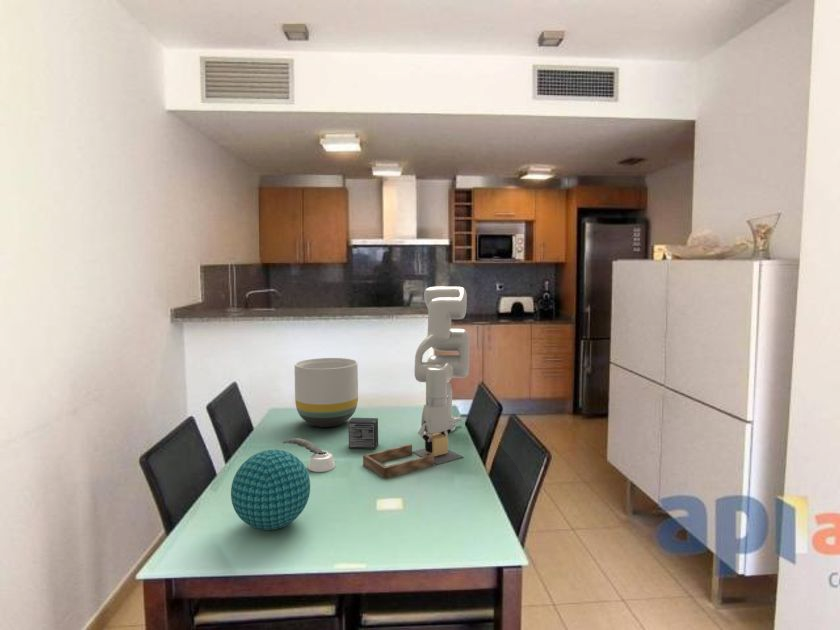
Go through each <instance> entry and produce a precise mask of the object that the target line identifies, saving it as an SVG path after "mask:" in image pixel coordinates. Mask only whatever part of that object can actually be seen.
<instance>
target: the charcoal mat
mask: <svg viewBox="0 0 840 630" xmlns="http://www.w3.org/2000/svg"><path fill="white" fill-rule="evenodd" d="M412 454H414V455H416V456H418V457H419V458H420V457H424V456H428V455H431V454H429V453H427V452H425V447H424V448H420V449H417V450H412ZM459 458H460V459H464V456H463V455H460V454H459V453H456V452H454V451H452V450H450V449H448V453H446V454H442V455H438V456H434V465H436V466H437V465H438V464H439V465H441V463H442V464H445V462H446V463H449V462H452V460H453V461H456V459H457V460H460V459H459ZM448 461H449V462H448Z"/></svg>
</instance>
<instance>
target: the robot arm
mask: <svg viewBox="0 0 840 630" xmlns="http://www.w3.org/2000/svg"><path fill="white" fill-rule="evenodd" d="M423 297H424V302H425V305H426V308H427V310H428V316H427V319H428V320H427V335H426V337H425V339H423V340H422V341H421V343H420V344H419V345H418V348H417V349H416V352H415V356H414V378H415V380H416V381H417V382H419V383H425V404H424V405H423V408H422V413H421V415H422V416H421V423H420V424H421V427H420V428H419V430H418V431H417V434H418V435H419V436H420V437H421V438H422V439H423V440H424V448H425V449H426V451H428V452H430V453H431V452H432V442H431V439H432V435H433V434H434V433H441V434H443V435H445V436H448V438H449V436H450V434H451V433H452V432H454V431H455V430H456V424H455V423H459V422H461V421H462V419H461V417H460V416H457V417H454V416H453V387H452V385H451V383H450V382H451V380H452V379H453V378H454V379H455V378H457V379H458V378H459V379H460V378H461V379H463V378H467V376H469V372H470V337H469V336H470V335H469V333H468V331H467V330H466V329H464V328H452V320H463V319H464V318H465V316H466V315H467V314H466V313H467V306H468V305H467V300H468V294H467V291H466V288H464V287H462V286H430V287H429V286H428V287H427V288H425V290H424V293H423ZM431 348H432V349H433V351H437V352H457V353H458V354H449V353H447V354H433V355H431V356H429V358H428V359H427V361H423V359H424V355H425V353H426V352H427V351H428V350H429V349H431ZM428 435H429V436H428Z"/></svg>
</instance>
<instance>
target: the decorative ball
mask: <svg viewBox="0 0 840 630" xmlns="http://www.w3.org/2000/svg"><path fill="white" fill-rule="evenodd" d="M310 480H311V479H310V475H309V472H308V470H307V467H306V466H305V465H304V463H303V462H302V461H301V460H300V459H299V458H298V456H296V455H294V454H292V453H290V452H289V451H285V450H282V449H267V450H263V451H262V450H261V451H260V452H257V453H255V454H252V455H251V456H250V457H248V458H247V459H245V461H244V462H243V463H242V464H241V465H240V466H239V468H238V469H237V471H236V472H235V474H234V477H233V480H232V481H231V482H232V483H231V488H230V498H231V499H230V500H231V504H232V507H233V509H234V511H235V513H236V516H238V517H239V519H240V520H241V521H243V522H244V523H245V524H246V525H247V526H250V527H252V528H254V529H257V530H260V531H261V530H262V531H273V530H278V529H280V528H283V527H285V526H288V525H289V524H290V523H293V521H294V520H296V519H297V518H298V517H299V516H300V515H301V514H302V512H304V509H305V508H306V506H307V503H308V502H309V499H310V494H311V481H310Z"/></svg>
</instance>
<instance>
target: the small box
mask: <svg viewBox="0 0 840 630" xmlns="http://www.w3.org/2000/svg"><path fill="white" fill-rule="evenodd" d="M378 445H379V418H377V417H374V418H373V417H350V418H349V419H348V449H349V450H350V449H352V450H353V449H354V450H355V449H356V450H362V449H363V450H376V449H377V448H378Z"/></svg>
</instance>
